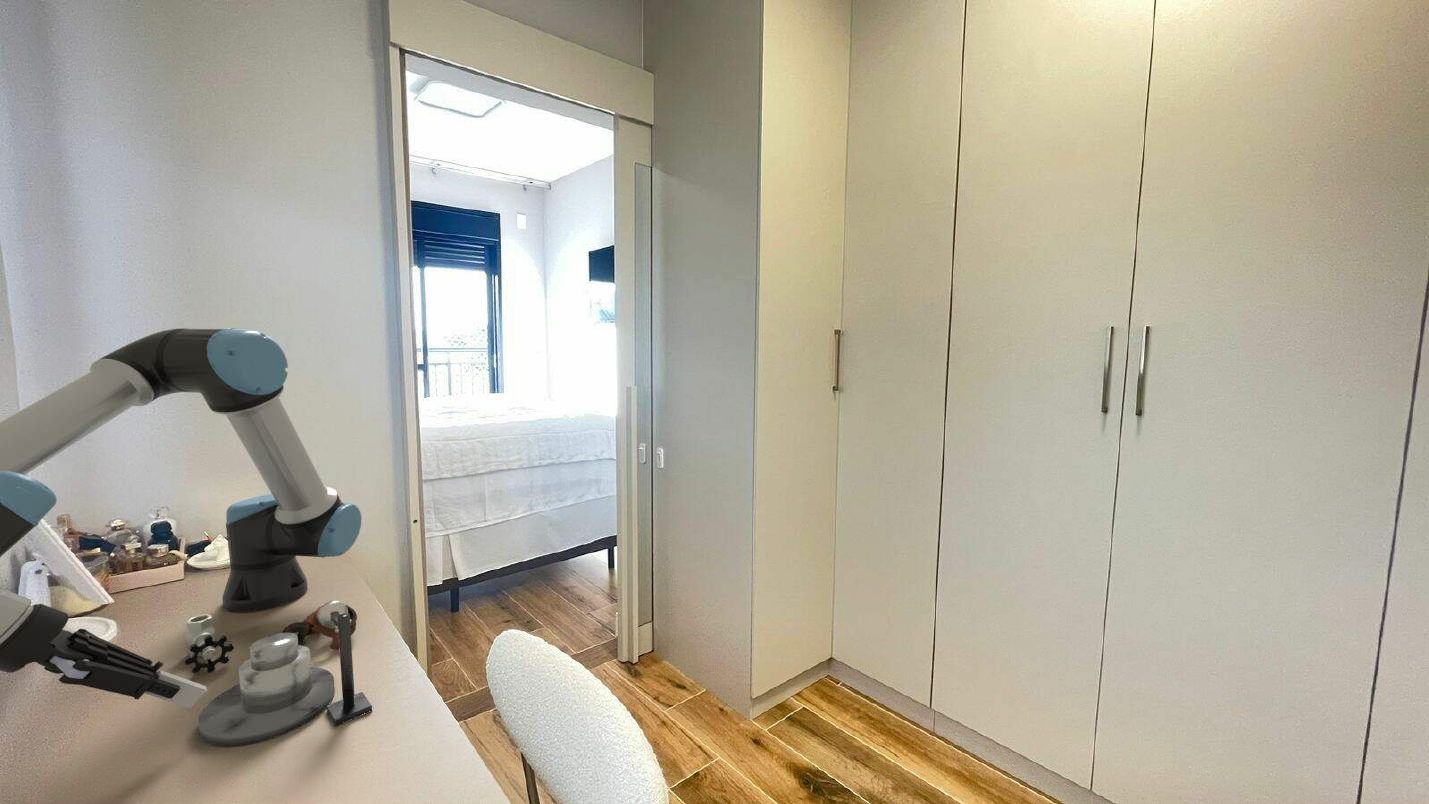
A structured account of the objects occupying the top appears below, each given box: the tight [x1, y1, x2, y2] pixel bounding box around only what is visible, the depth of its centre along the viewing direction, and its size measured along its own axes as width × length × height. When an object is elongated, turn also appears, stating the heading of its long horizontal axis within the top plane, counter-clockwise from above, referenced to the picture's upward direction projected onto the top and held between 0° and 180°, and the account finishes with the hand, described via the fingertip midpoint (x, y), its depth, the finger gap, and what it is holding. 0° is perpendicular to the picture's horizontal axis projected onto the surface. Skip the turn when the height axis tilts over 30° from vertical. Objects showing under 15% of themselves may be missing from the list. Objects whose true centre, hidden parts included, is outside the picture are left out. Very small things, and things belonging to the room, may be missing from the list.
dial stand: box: [318, 599, 373, 727], centre depth 91 cm, size 10×5×16 cm, turn 47°
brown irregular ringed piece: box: [281, 604, 358, 650], centre depth 110 cm, size 12×10×8 cm
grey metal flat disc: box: [197, 666, 336, 748], centre depth 91 cm, size 17×17×2 cm
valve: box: [183, 613, 235, 674], centre depth 104 cm, size 7×7×12 cm
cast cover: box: [238, 632, 313, 714], centre depth 91 cm, size 9×9×9 cm
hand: (198, 697), depth 84 cm, fingers closed
